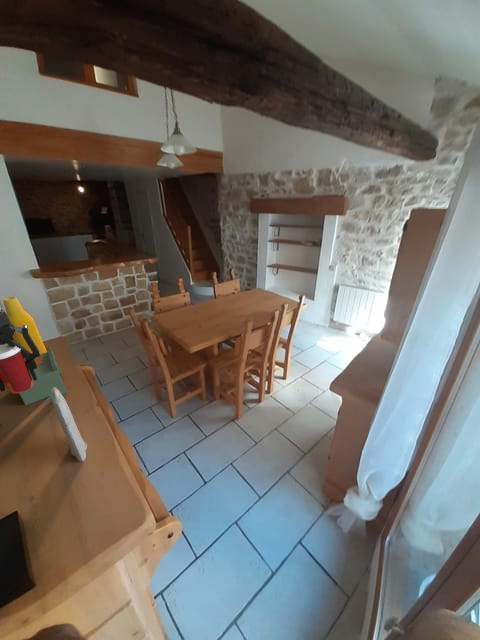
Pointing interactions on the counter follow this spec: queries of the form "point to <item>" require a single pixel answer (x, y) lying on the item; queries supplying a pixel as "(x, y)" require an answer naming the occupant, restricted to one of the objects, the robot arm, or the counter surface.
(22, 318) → the yellow bottle
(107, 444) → the counter surface
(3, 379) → the paper cup
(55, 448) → the counter surface
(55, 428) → the counter surface
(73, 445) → the tall pale column
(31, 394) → the sage green crate
